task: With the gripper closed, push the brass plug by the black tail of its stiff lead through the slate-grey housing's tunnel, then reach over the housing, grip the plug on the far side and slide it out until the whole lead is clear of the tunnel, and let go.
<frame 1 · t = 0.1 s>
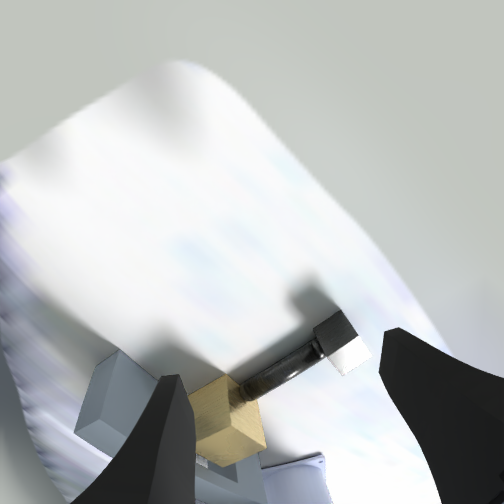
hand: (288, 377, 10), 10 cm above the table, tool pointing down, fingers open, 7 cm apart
plug: (221, 398, 24), on the table
housing: (185, 418, 24), on the table
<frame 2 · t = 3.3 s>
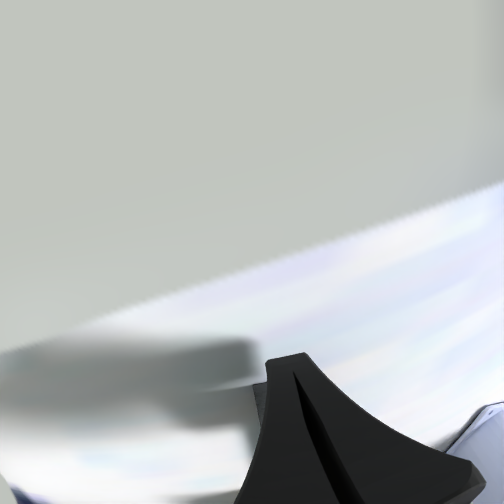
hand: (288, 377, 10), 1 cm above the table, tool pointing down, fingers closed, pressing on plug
plug: (294, 490, 17), on the table, touching gripper
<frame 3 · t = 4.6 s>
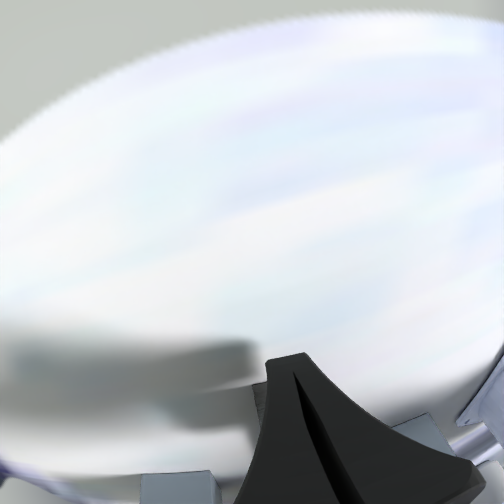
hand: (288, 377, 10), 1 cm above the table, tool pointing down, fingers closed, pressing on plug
can: (470, 474, 25), on the table
plug: (298, 489, 17), on the table, touching gripper
housing: (292, 469, 15), on the table
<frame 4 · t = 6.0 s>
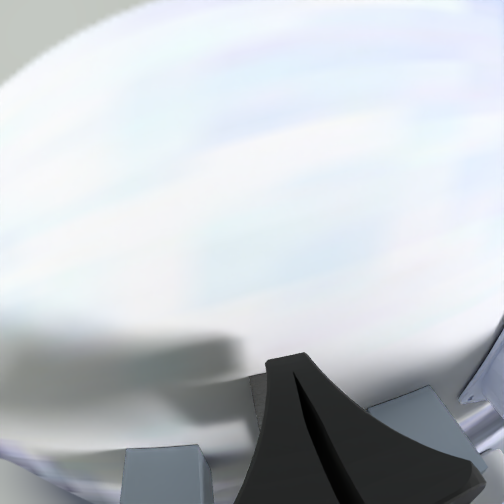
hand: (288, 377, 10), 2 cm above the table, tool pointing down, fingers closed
can: (472, 464, 25), on the table
plug: (296, 482, 17), on the table
housing: (287, 445, 15), on the table
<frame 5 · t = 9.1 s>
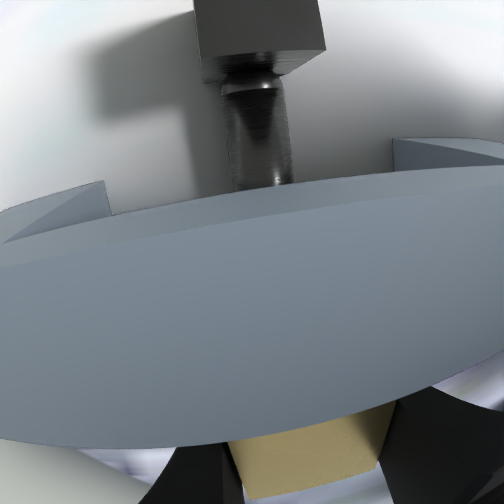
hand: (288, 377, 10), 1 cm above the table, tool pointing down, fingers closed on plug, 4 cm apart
plug: (278, 346, 12), on the table, touching gripper
housing: (261, 201, 9), on the table
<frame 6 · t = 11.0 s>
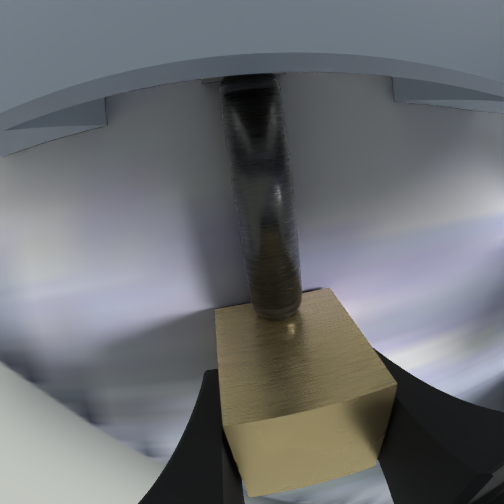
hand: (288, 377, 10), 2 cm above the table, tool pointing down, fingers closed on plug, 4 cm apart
plug: (278, 344, 12), on the table, touching gripper
housing: (254, 54, 8), on the table
when the fingers open (2 cm above the table, at t = 12.5 s): plug stays where it is, on the table.
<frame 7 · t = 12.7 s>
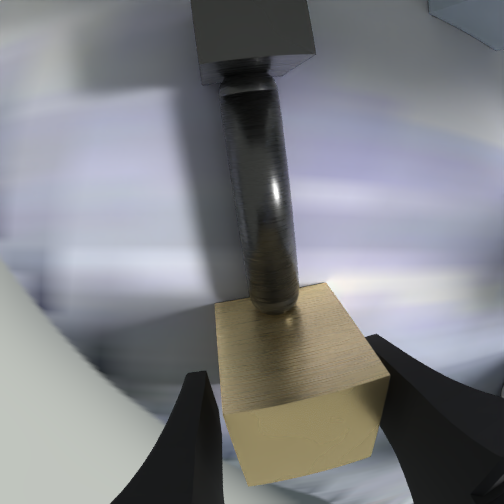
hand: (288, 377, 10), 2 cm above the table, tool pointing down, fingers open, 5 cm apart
plug: (276, 338, 12), on the table
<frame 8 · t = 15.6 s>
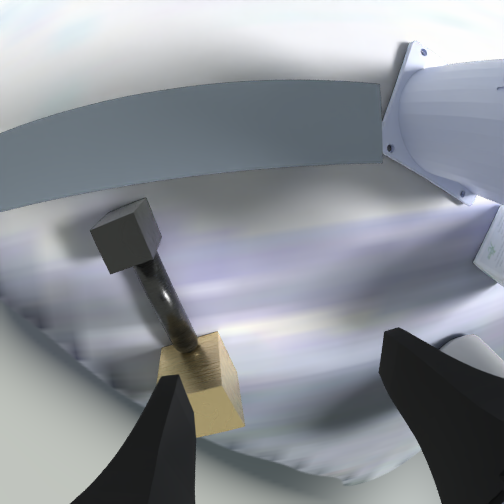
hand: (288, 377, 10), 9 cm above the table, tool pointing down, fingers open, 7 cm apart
can: (447, 360, 26), on the table
syrup box: (499, 243, 22), on the table
plug: (200, 361, 21), on the table
housing: (164, 135, 16), on the table
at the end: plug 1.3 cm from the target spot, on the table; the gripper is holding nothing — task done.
